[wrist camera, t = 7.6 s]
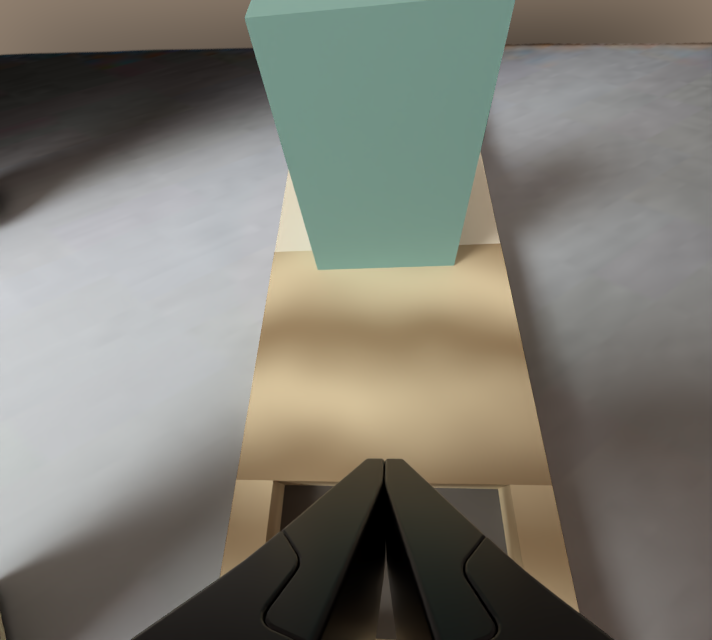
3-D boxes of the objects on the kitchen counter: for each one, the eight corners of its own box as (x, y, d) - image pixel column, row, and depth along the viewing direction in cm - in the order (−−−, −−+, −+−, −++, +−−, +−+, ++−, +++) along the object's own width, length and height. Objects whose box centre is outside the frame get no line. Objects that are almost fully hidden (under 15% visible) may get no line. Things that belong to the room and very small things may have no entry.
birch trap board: (588, 774, 11) (623, 818, 10) (215, 742, 12) (186, 778, 11) (458, 91, 29) (462, 64, 28) (309, 102, 30) (304, 76, 29)
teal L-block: (454, 265, 19) (517, -9, 9) (317, 269, 19) (244, 17, 10) (436, 131, 24) (464, -129, 15) (330, 137, 25) (290, -108, 15)
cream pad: (491, 267, 21) (500, 244, 19) (283, 273, 22) (274, 252, 20) (473, 170, 25) (479, 144, 23) (297, 180, 26) (290, 156, 24)
